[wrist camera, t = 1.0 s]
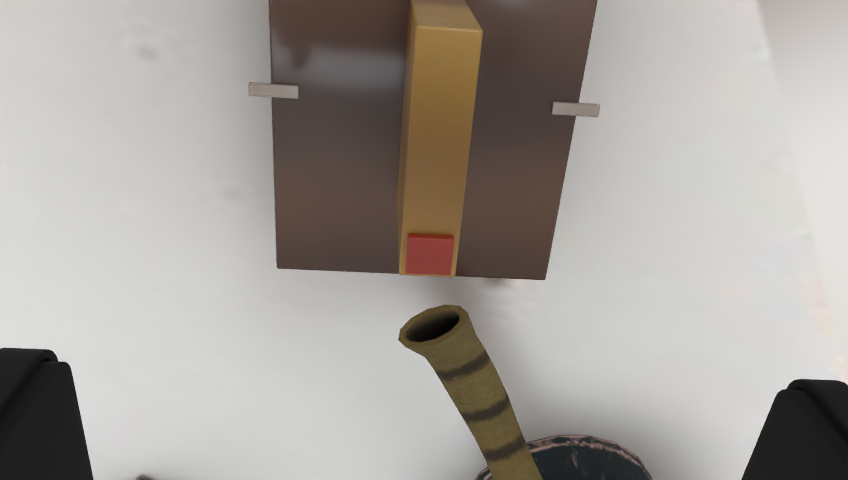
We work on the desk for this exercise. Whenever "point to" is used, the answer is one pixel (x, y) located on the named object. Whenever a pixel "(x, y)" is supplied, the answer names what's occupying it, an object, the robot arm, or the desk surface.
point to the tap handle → (436, 133)
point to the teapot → (506, 410)
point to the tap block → (381, 132)
